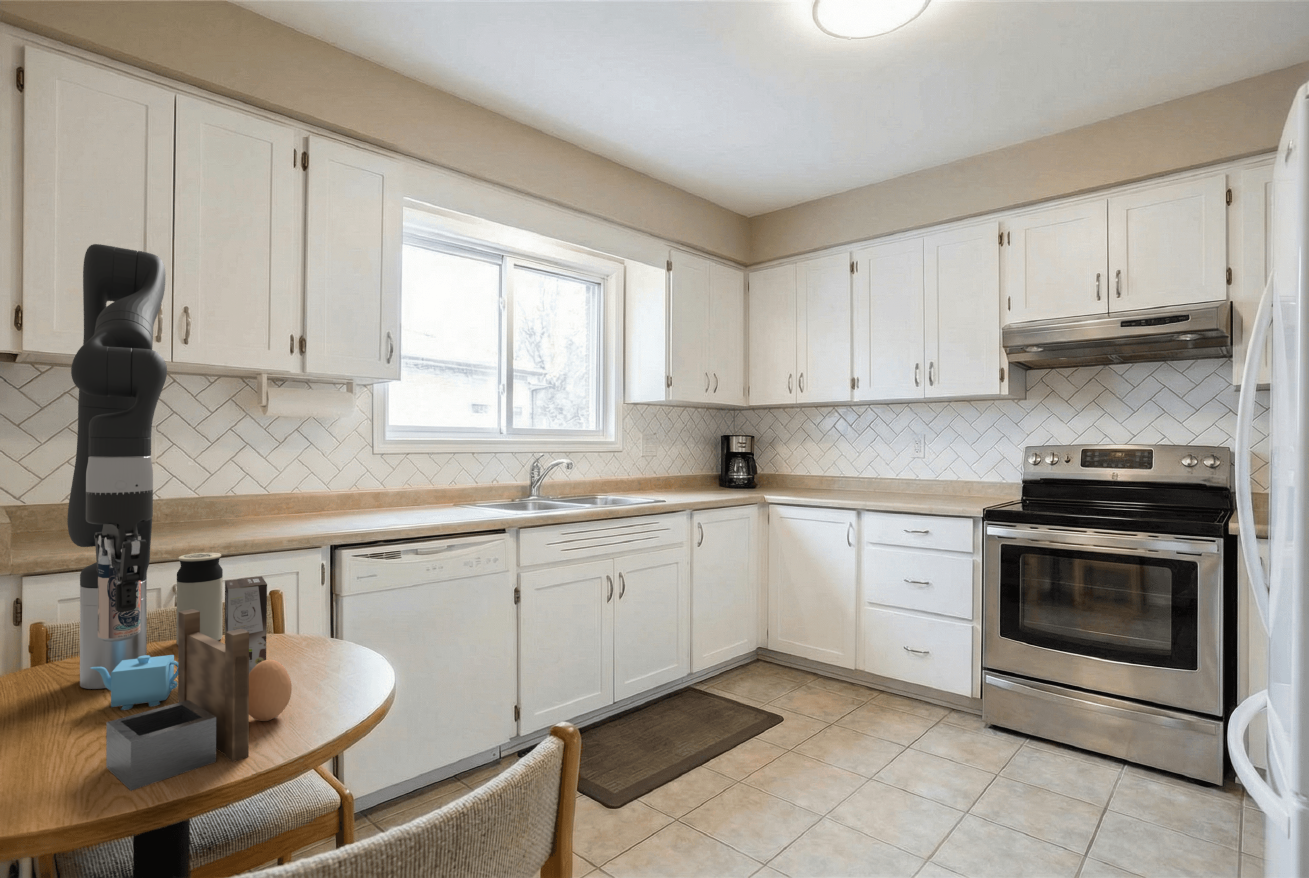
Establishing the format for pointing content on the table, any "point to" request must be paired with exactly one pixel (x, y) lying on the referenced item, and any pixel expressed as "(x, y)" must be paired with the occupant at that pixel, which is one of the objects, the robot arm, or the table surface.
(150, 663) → the teapot
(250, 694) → the egg
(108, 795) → the table surface
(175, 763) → the post bracket
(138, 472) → the robot arm
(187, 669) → the headboard panel
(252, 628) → the coffee box
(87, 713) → the table surface
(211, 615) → the travel mug
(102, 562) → the beer can
